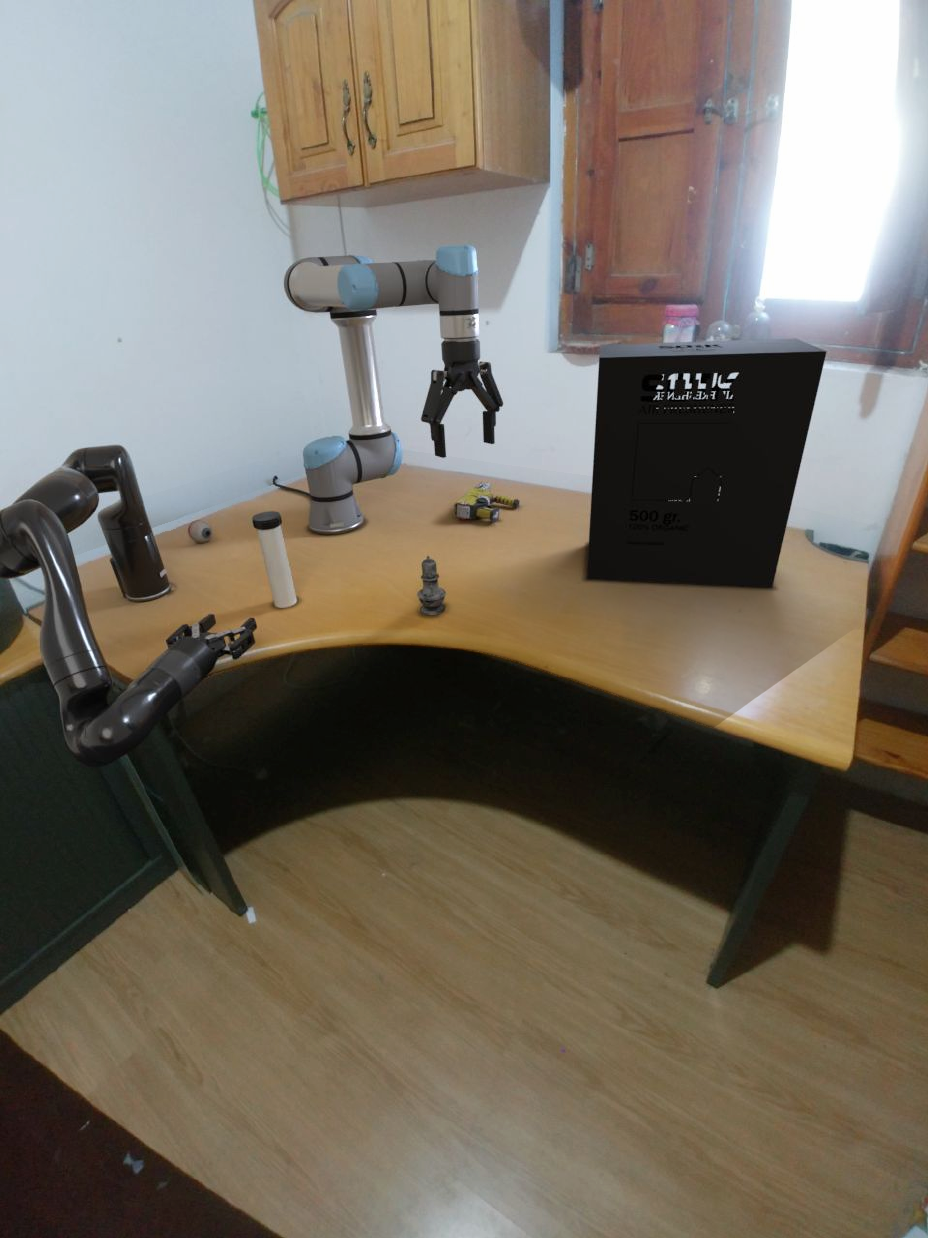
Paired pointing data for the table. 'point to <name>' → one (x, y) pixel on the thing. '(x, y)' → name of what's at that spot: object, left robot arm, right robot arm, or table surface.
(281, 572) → the bottle
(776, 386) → the cardboard box
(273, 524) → the lid
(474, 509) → the toy gun
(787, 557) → the table surface
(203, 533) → the eyeball
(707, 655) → the table surface
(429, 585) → the salt shaker
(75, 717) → the left robot arm
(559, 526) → the table surface
